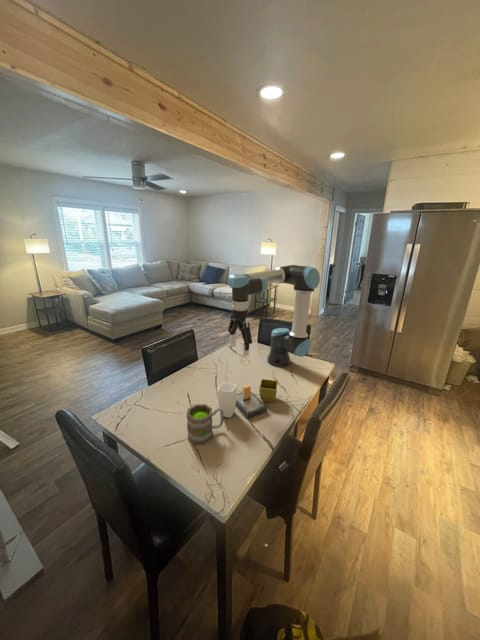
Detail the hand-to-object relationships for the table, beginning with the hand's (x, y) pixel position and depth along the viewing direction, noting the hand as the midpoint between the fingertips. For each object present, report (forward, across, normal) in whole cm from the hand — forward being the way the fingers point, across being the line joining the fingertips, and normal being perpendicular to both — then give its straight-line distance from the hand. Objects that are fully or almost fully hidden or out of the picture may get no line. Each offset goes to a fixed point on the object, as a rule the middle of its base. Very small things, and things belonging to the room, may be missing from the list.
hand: (239, 351), depth 129 cm
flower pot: (+27, +9, +12) cm, 31 cm away
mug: (+27, +17, -26) cm, 41 cm away
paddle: (+22, +8, 0) cm, 24 cm away
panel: (+26, +10, 0) cm, 28 cm away
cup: (+27, +10, -12) cm, 31 cm away
